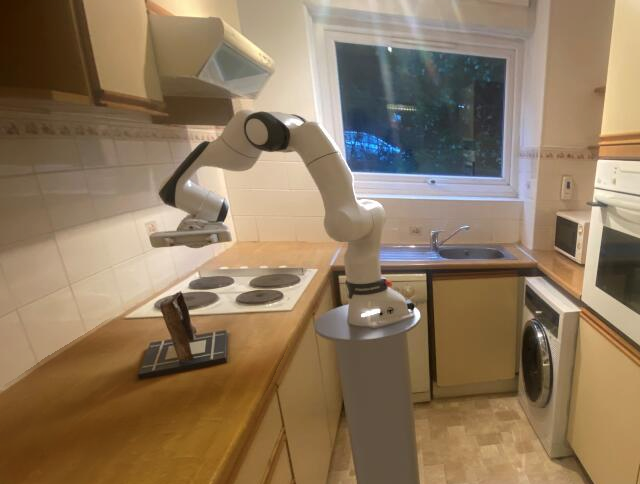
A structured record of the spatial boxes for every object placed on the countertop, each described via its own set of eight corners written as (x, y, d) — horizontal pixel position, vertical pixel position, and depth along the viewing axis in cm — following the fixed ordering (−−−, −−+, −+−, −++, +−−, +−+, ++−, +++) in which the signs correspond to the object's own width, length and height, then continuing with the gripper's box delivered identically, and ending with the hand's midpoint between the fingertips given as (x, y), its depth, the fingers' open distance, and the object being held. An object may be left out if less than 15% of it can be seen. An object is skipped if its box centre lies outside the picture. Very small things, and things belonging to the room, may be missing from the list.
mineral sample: (194, 360, 110) (176, 305, 104) (174, 364, 108) (155, 308, 102) (199, 336, 124) (183, 285, 118) (181, 339, 122) (165, 287, 116)
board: (227, 334, 129) (226, 329, 128) (226, 362, 113) (225, 356, 112) (151, 347, 120) (149, 341, 120) (139, 379, 105) (137, 373, 104)
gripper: (149, 226, 131) (142, 234, 120) (228, 221, 141) (228, 228, 130) (156, 246, 134) (149, 256, 123) (233, 240, 143) (233, 249, 132)
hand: (190, 242), depth 126 cm, fingers open, 8 cm apart
